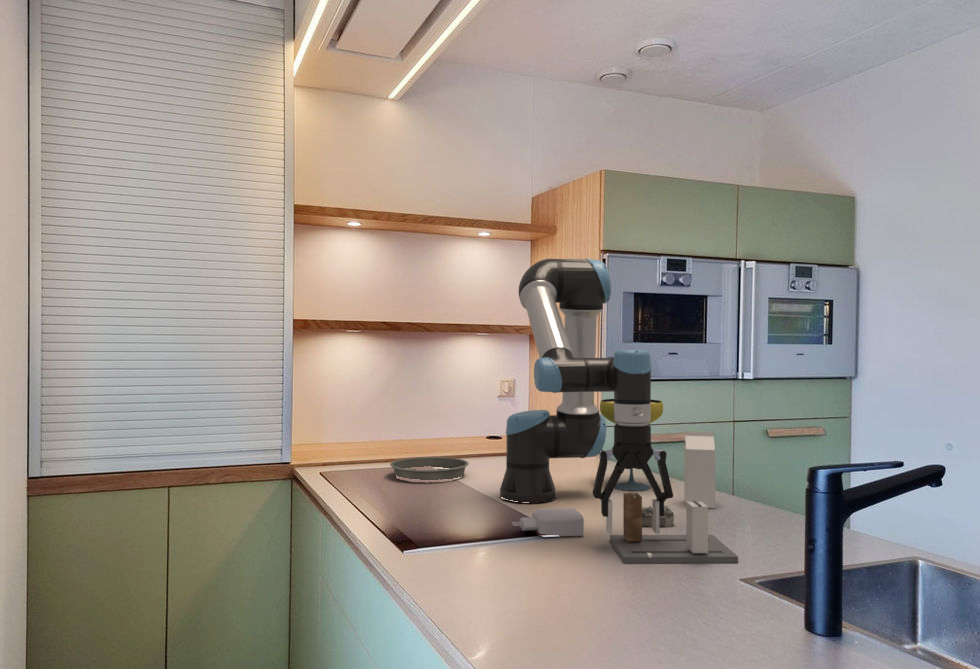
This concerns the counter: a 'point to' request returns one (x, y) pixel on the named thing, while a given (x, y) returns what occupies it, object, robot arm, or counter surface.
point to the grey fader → (697, 527)
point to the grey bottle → (554, 522)
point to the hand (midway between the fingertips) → (632, 531)
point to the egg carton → (664, 520)
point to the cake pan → (453, 464)
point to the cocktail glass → (608, 413)
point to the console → (670, 550)
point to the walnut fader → (632, 516)
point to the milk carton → (699, 468)
